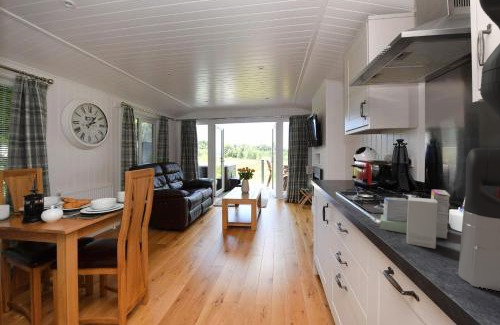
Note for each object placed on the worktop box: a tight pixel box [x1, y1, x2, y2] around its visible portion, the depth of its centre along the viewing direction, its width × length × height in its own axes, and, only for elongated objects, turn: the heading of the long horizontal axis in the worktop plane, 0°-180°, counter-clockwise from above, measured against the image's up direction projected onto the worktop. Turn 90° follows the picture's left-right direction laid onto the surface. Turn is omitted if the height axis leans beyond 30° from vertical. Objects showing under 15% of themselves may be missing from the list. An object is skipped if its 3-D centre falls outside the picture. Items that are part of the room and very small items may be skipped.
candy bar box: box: [430, 189, 451, 240], centre depth 92 cm, size 11×5×16 cm, turn 147°
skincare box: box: [406, 196, 438, 250], centre depth 82 cm, size 8×7×16 cm
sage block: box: [379, 214, 407, 234], centre depth 98 cm, size 10×10×4 cm
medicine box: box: [382, 197, 408, 222], centre depth 98 cm, size 8×4×9 cm, turn 77°
